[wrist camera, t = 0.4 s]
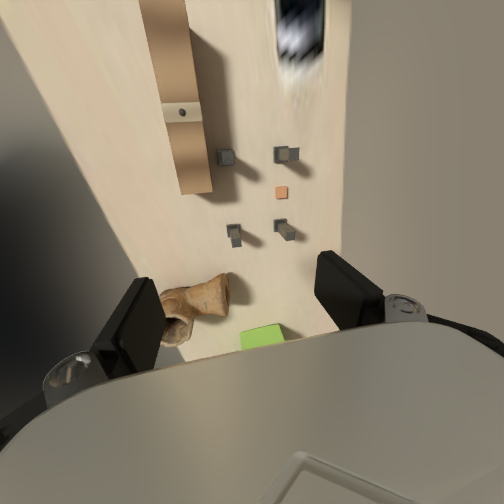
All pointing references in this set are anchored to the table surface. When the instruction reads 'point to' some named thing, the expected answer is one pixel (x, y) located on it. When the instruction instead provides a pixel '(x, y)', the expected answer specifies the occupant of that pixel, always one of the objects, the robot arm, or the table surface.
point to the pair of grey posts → (278, 227)
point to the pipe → (192, 307)
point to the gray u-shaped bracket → (279, 155)
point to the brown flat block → (281, 192)
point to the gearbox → (261, 337)
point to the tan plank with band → (178, 91)
